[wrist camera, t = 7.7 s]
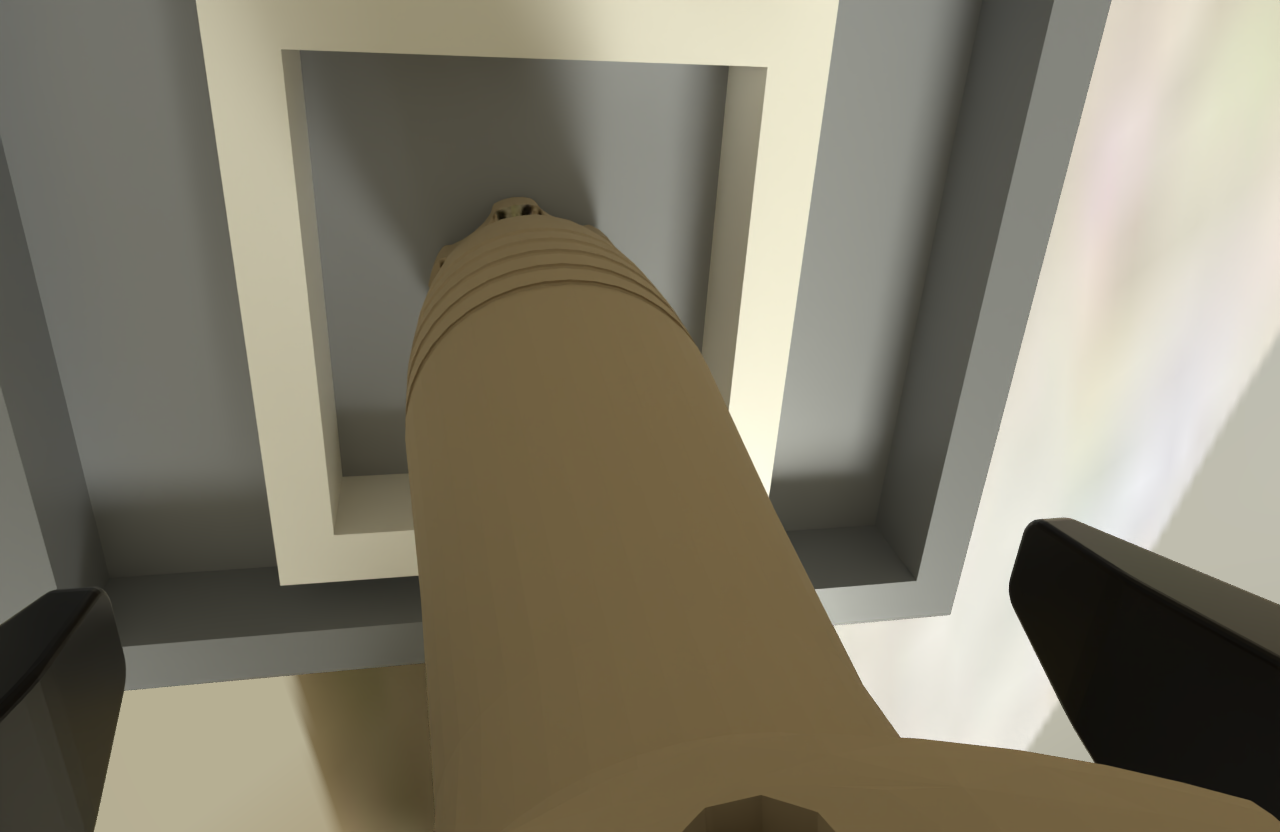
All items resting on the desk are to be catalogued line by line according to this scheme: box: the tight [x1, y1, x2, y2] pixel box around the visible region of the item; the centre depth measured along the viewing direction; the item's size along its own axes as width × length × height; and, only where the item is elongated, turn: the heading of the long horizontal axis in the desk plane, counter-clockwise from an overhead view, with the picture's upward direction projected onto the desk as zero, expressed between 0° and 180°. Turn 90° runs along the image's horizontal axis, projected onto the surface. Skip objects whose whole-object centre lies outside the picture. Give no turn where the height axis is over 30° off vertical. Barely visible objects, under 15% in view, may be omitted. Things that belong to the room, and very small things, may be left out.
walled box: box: [0, 0, 1111, 691], centre depth 16 cm, size 14×18×2 cm
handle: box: [405, 197, 1280, 832], centre depth 11 cm, size 5×6×15 cm
